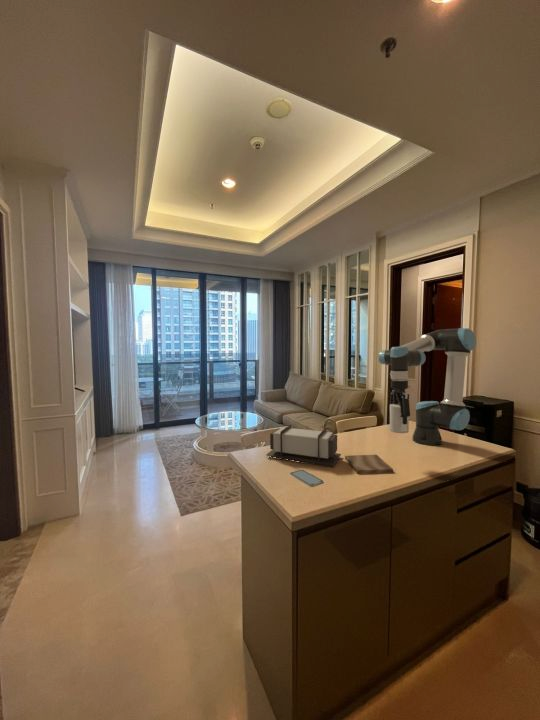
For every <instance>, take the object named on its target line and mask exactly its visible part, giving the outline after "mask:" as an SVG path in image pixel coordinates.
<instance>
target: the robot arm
mask: <svg viewBox="0 0 540 720" xmlns="http://www.w3.org/2000/svg"><path fill="white" fill-rule="evenodd" d="M476 346H477V338H476V335H475V333H474V331H473V330H472V329H470V328H467V327H466V328H465V327H457V328H446V329H445V328H443V329H442V328H441V329H437V330H433V331H431V332H428V333H426V334H423V335H422V336H420V337H419V338H418V339H416V340H413V341H410V342H407V343H405V344H402V345H400V346H392V347H391V348H390V349H385V350H381V351H379V353H378V355H377V357H378V362H379V363H380V364H381V365H385V366H390V373H389V375H390V388H391V390H389V393H390V394H389V396H390V397H389V408H388V409H389V411H390V404H399V405H400V407H401V416H400V417H401V422H400V431H407V417H408V416H409V417H411V410H410V407H411V406H410V394H408V393H406V390H407V389H408V388H409V367H419V366H422V365H424V364H425V362H426V358H427V357H426V354H425V352H431V351H437V350H438V351H444V353H445V355H447V359H446V369H445V370H446V372H445V383H444V396H443V399H442V401H440V402H439V401H436V400H435V401H434V400H430V401H429V400H425V401H419V402H417V403H416V405H415V428H414V431H413V434H412V441H413V442H414V441H415V442H414V443H417V444H421V445H426V446H439V444H440V445H441V443H442V444H443V438H442V435H441V432H440V430H439V429H440V428H445V429H450V430H452V431H453V430H455V431H463V430H464V429H465V428H466V427H467V426H468V424H469V422H470V417H471V415H470V411H469V410H468V409H467V408H466V404H465V403H464V402H463V398H464V388H465V375H466V364H467V357H468V356H469V355H471V351H473V350H475V347H476ZM439 427H440V428H439Z"/></svg>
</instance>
